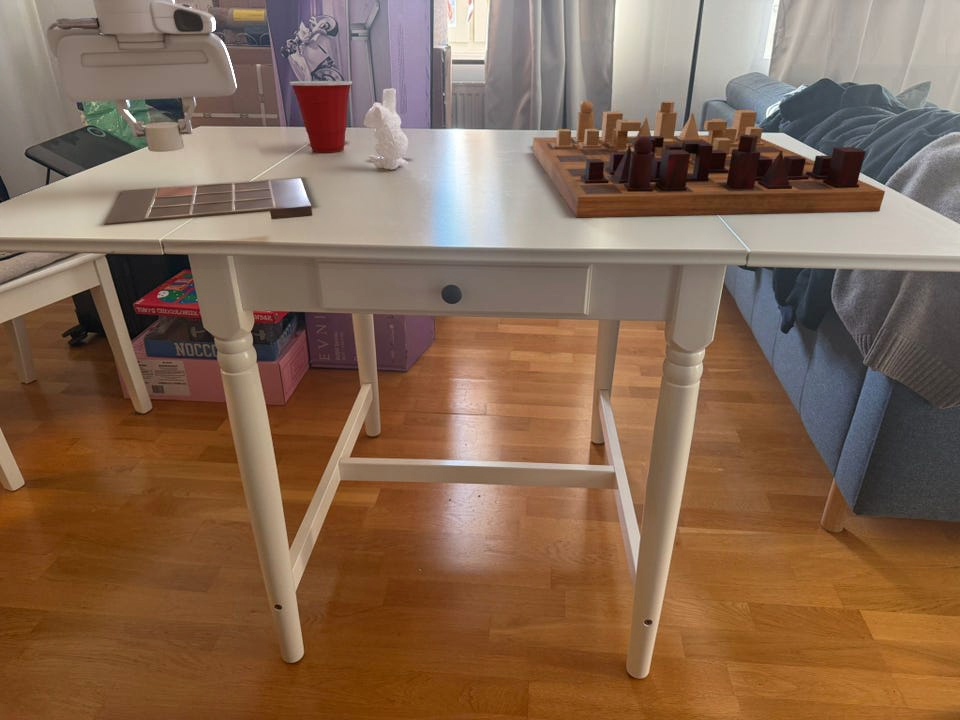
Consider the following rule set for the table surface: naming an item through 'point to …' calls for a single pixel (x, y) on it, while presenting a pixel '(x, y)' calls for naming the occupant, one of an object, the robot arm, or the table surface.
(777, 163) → the gameboard
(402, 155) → the white upright figurine
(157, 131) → the short white cylinder
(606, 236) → the table surface
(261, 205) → the board
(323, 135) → the plastic cup
